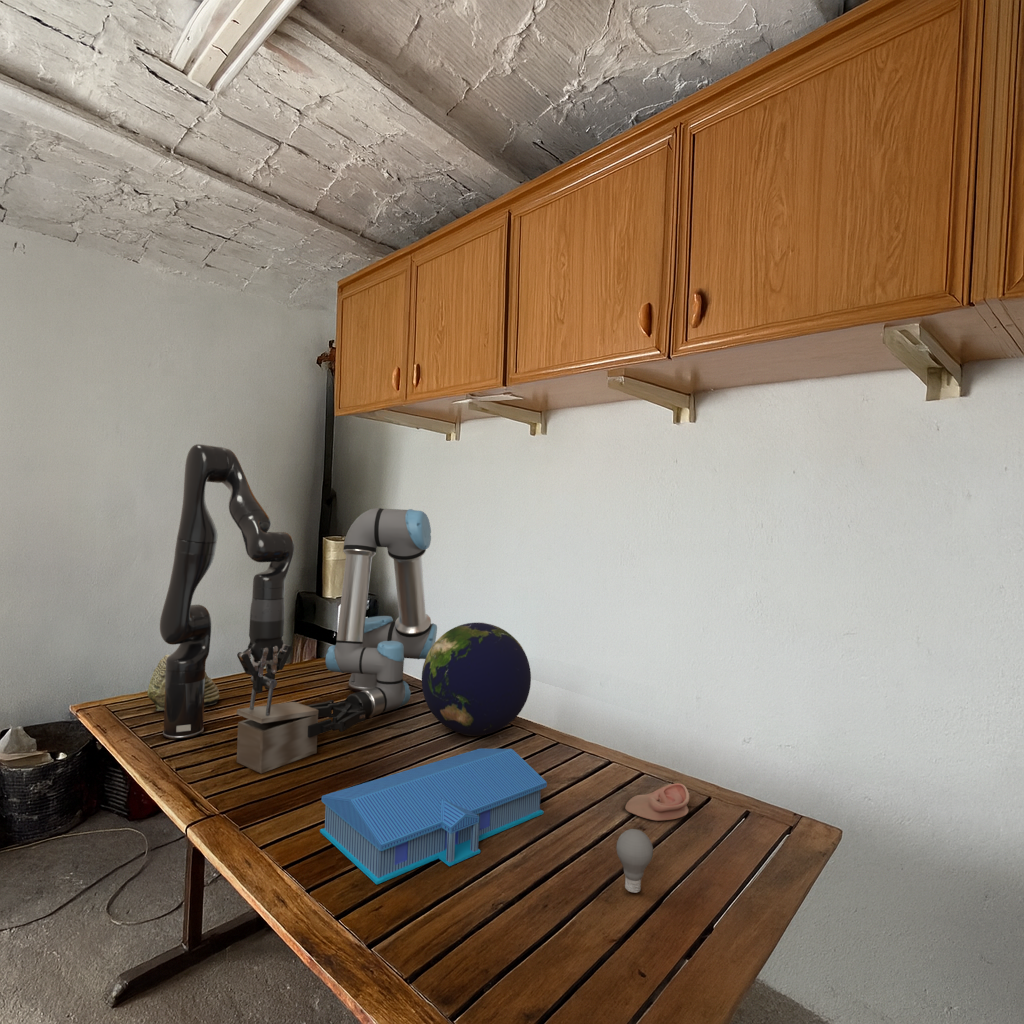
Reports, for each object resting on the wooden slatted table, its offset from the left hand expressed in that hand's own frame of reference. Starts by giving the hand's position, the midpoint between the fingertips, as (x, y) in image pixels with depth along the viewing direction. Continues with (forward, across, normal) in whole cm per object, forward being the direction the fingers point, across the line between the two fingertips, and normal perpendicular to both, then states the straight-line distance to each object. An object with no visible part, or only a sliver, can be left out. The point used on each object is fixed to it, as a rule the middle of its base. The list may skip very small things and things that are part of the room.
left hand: (263, 690), depth 148 cm
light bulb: (+17, +9, -90) cm, 92 cm away
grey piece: (+7, +4, 0) cm, 8 cm away
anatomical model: (+16, +40, -82) cm, 93 cm away
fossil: (+18, +9, +51) cm, 55 cm away
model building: (+17, +5, -51) cm, 54 cm away
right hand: (+11, +9, 0) cm, 14 cm away
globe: (+17, +49, -26) cm, 58 cm away
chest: (+17, +5, 0) cm, 18 cm away
